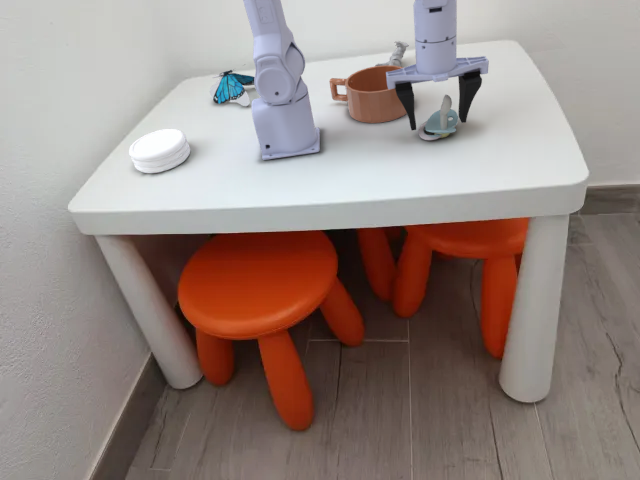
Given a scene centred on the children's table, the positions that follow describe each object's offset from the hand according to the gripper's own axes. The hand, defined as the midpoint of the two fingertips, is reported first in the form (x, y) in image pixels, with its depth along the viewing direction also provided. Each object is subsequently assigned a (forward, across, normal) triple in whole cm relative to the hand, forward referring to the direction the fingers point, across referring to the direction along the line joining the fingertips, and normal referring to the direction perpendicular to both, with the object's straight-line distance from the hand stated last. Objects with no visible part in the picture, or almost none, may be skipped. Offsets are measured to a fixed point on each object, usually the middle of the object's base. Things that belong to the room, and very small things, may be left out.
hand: (437, 123), depth 79 cm
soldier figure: (+2, -4, +28) cm, 28 cm away
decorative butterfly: (-1, -37, +28) cm, 46 cm away
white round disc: (+2, -47, +5) cm, 47 cm away
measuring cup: (+2, -10, +13) cm, 16 cm away
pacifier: (+2, 0, 0) cm, 2 cm away
